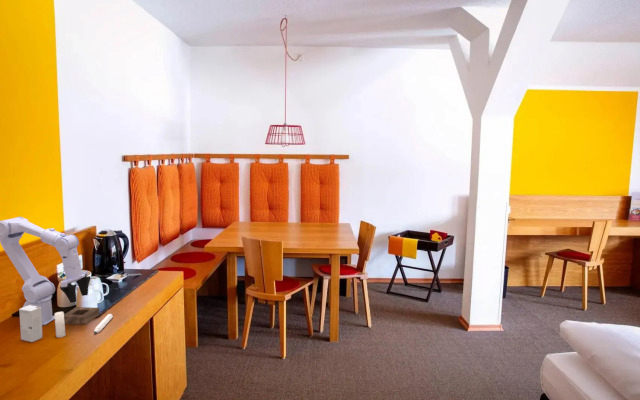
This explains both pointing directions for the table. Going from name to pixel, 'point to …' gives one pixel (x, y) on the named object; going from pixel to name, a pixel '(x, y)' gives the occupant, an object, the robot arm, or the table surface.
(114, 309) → the table surface
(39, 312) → the skincare box
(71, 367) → the table surface
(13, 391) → the table surface
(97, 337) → the table surface
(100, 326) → the marker
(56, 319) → the peg
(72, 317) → the brown square frame
